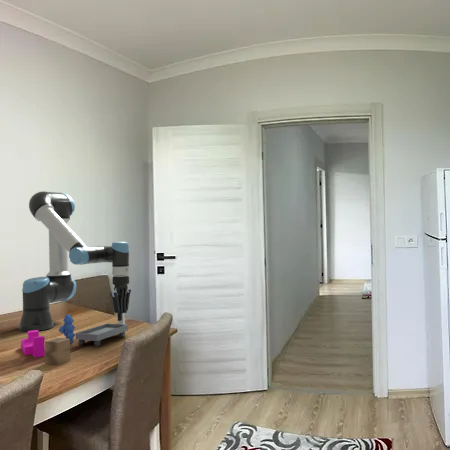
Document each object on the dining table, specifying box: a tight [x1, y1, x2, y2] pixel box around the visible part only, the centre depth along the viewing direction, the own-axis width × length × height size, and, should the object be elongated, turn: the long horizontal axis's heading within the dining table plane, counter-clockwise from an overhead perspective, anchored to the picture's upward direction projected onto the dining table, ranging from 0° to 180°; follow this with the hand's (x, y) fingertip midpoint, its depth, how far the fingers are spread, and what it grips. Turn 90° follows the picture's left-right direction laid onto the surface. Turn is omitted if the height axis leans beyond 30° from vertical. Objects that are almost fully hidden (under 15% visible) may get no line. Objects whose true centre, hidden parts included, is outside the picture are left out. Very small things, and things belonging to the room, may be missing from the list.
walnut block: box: [44, 337, 71, 366], centre depth 167 cm, size 6×6×8 cm
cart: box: [75, 323, 128, 347], centre depth 197 cm, size 11×21×5 cm, turn 157°
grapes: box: [58, 313, 76, 344], centre depth 196 cm, size 12×7×12 cm, turn 30°
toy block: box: [20, 330, 46, 358], centre depth 180 cm, size 15×6×8 cm, turn 32°
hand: (121, 327), depth 210 cm, fingers closed
